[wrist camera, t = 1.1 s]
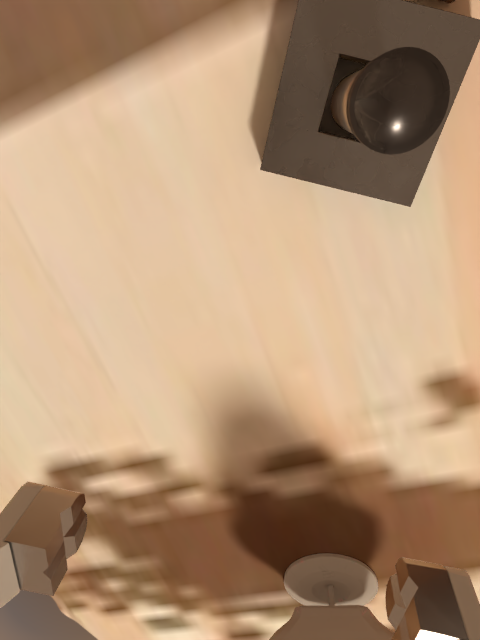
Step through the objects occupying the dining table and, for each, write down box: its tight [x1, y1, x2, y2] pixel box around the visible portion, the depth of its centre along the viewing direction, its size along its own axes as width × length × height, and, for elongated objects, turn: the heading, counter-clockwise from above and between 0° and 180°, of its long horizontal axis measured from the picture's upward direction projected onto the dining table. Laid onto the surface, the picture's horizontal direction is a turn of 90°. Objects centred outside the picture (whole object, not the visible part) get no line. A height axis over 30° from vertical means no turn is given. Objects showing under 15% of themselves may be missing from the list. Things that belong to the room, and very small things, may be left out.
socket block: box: [260, 0, 480, 207], centre depth 30 cm, size 12×12×2 cm
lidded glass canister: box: [331, 47, 450, 154], centre depth 25 cm, size 4×4×14 cm
